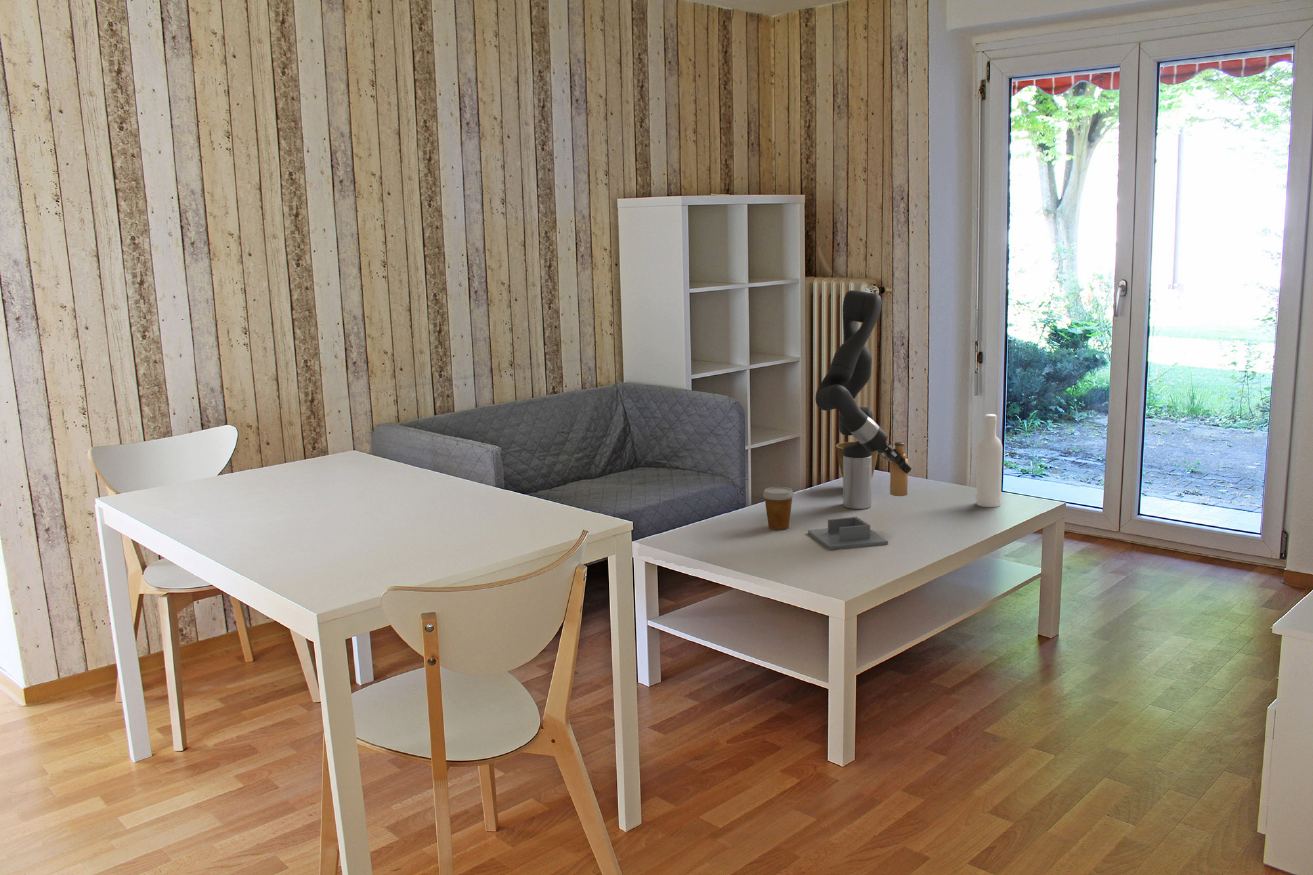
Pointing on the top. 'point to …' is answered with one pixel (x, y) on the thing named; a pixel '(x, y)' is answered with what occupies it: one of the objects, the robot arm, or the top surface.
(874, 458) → the plant pot
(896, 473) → the bottle
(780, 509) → the disposable coffee cup
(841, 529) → the u rest
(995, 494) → the bottle
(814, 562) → the top surface
